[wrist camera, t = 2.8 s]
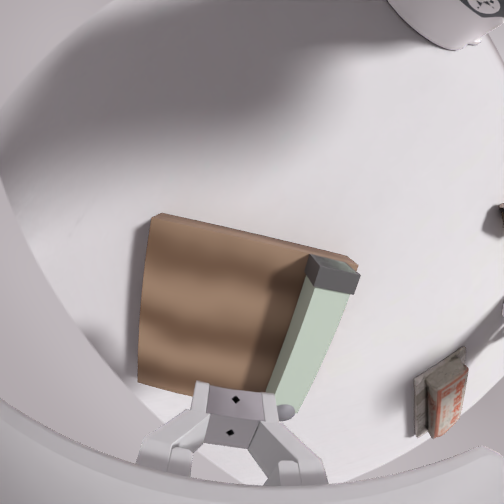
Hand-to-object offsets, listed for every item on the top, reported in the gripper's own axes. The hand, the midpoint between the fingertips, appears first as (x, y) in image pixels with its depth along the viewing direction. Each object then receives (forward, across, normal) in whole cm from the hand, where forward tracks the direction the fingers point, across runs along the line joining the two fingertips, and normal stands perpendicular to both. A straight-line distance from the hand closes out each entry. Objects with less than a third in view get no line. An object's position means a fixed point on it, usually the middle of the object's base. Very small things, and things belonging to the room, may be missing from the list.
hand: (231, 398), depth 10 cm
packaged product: (+18, -37, +15) cm, 44 cm away
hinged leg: (+14, -7, +5) cm, 16 cm away
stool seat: (+17, -1, +6) cm, 18 cm away
